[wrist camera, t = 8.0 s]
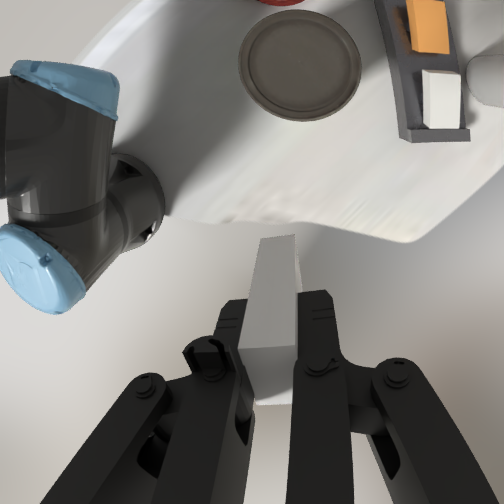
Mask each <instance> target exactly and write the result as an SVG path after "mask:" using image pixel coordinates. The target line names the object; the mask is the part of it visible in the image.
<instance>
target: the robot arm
mask: <svg viewBox="0 0 504 504" xmlns="http://www.w3.org/2000/svg"><path fill="white" fill-rule="evenodd" d="M10 74H11V76H5V77H0V199H5V198H7V205H8V217H9V222H8V224H4V225H3V226H1V227H0V271H1V273H2V275H3V277H4V278H5V280H6V281H7V282H8V284H9V285H10V287H11V288H12V289H13V290H14V291H15V292H16V293H17V294H18V295H19V297H21V298H22V299H23V300H24V301H25V302H26V303H28V304H29V305H31V306H32V307H34V308H35V309H37V310H40V311H42V312H44V313H48V314H54V315H56V314H62V313H64V312H66V311H68V310H69V309H71V308H72V307H73V306H74V305H75V304H76V303H77V302H78V301H79V300H81V299H83V298H84V296H85V295H86V292H87V291H88V290H89V288H90V287H91V286H92V285H93V284H94V283H95V281H96V280H97V279H98V278H99V277H100V276H101V274H102V273H103V272H104V271H105V270H106V269H107V268H108V266H110V264H111V263H112V262H113V261H114V260H115V259H116V258H117V257H118V255H119V254H121V253H124V252H127V251H130V250H132V249H135V248H138V247H140V246H142V245H143V244H145V243H146V242H147V241H148V240H150V238H151V237H152V236H153V235H154V234H155V233H156V232H157V230H158V229H159V227H160V225H161V223H162V220H163V217H164V210H165V201H164V195H163V191H162V188H161V185H160V183H159V181H158V179H157V177H156V176H155V174H154V173H153V172H152V171H151V169H150V168H149V167H148V166H147V165H145V164H144V163H143V162H142V161H140V160H139V159H137V158H135V157H132V156H130V155H126V154H111V152H112V144H113V137H114V131H115V124H116V121H118V116H117V106H118V98H119V91H120V85H119V81H118V79H117V78H116V77H115V76H114V75H113V74H112V73H110V72H107V71H104V70H100V69H95V68H90V67H85V66H79V65H73V64H66V63H58V62H46V61H44V62H42V61H31V60H18V61H16V62H15V63H14V64H13V66H12V68H11V69H10ZM182 353H183V355H184V357H185V359H186V361H187V363H188V365H189V367H190V369H191V371H192V374H191V375H188V376H185V377H182V378H178V379H174V380H170V381H165V380H164V378H163V377H162V376H161V375H159V374H157V373H145V374H141V375H139V376H138V377H136V378H134V379H133V380H132V381H131V382H130V383H129V384H128V386H127V387H126V388H125V390H124V391H123V392H122V394H121V395H120V396H119V397H118V399H117V400H116V402H115V403H114V404H113V405H112V407H111V408H110V409H109V411H108V412H107V413H106V415H105V416H104V417H103V419H102V420H101V421H100V423H99V424H98V425H97V427H96V428H95V429H94V431H93V432H92V433H91V435H90V436H89V437H88V439H87V440H86V441H85V443H84V444H83V445H82V447H81V448H80V449H79V451H78V452H77V453H76V455H75V456H74V457H73V459H72V460H71V462H70V463H69V464H68V466H67V467H66V468H65V470H64V471H63V472H62V474H61V475H60V477H59V478H58V479H57V481H56V482H55V484H54V485H53V486H52V488H51V489H50V490H49V492H48V493H47V494H46V496H45V497H44V499H43V500H42V501H41V503H40V504H243V502H244V495H245V488H246V482H247V475H248V468H249V461H250V454H251V447H252V440H253V433H254V425H255V414H254V411H253V409H252V408H253V402H254V398H255V401H256V403H257V405H274V404H292V415H291V434H290V450H289V465H288V479H287V493H286V503H285V504H354V483H353V461H352V445H351V432H355V433H361V434H366V437H367V439H368V442H369V444H370V446H371V449H372V451H373V454H374V456H375V459H376V461H377V463H378V466H379V468H380V471H381V473H382V476H383V478H384V481H385V483H386V486H387V488H388V491H389V493H390V496H391V498H392V501H393V503H394V504H499V502H498V500H497V498H496V496H495V494H494V492H493V490H492V488H491V487H490V485H489V483H488V481H487V479H486V477H485V475H484V473H483V472H482V470H481V468H480V466H479V464H478V462H477V461H476V459H475V457H474V455H473V453H472V452H471V450H470V448H469V446H468V445H467V443H466V441H465V440H464V438H463V436H462V435H461V433H460V431H459V429H458V428H457V426H456V424H455V423H454V421H453V420H452V418H451V417H450V415H449V413H448V412H447V410H446V409H445V407H444V405H443V403H442V402H441V400H440V399H439V397H438V396H437V394H436V393H435V391H434V389H433V388H432V386H431V385H430V384H429V382H428V380H427V379H426V377H425V376H424V374H423V373H422V371H421V370H420V368H419V367H418V366H417V365H416V364H415V363H414V362H412V361H410V360H408V359H405V358H391V359H386V360H385V361H383V362H381V363H379V364H378V365H377V367H376V368H370V367H362V366H358V365H355V364H353V363H350V362H349V361H348V360H346V359H345V358H344V356H343V355H342V353H341V350H340V345H339V338H338V331H337V324H336V318H335V311H334V304H333V298H332V297H331V296H330V294H329V293H328V292H327V291H326V290H317V291H309V292H302V282H301V275H300V267H299V261H298V254H297V247H296V240H295V234H293V235H285V236H277V237H270V238H262V239H260V244H259V249H258V254H257V258H256V263H255V268H254V273H253V278H252V283H251V288H250V292H249V297H248V299H240V300H229V301H228V302H227V303H226V304H225V306H224V307H223V308H222V309H221V312H220V315H219V318H218V322H217V325H216V329H215V331H214V334H213V336H212V335H209V336H204V337H200V338H198V339H196V340H193V341H192V342H191V343H189V344H188V345H187V346H186V347H185V349H184V350H183V352H182Z"/></svg>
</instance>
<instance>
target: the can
mask: <svg viewBox="0 0 504 504" xmlns="http://www.w3.org/2000/svg"><path fill="white" fill-rule="evenodd" d="M466 78H467V84H468V87H469V89H470V91H471V93H472V94H473V96H474V97H475V98H476V99H477V100H478V101H479V102H480V103H482V104H484V105H488V106H494V107H500V108H504V55H491V56H480V57H475V58H473V59H472V60H471V61H470V62H469V64H468V66H467V70H466Z"/></svg>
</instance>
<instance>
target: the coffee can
mask: <svg viewBox="0 0 504 504" xmlns="http://www.w3.org/2000/svg"><path fill="white" fill-rule="evenodd" d="M238 67H239V73H240V77H241V81H242V83H243V86H244V87H245V89H246V91H247V93H248V94H249V95H250V97H251V98H252V99H253V100H254V101H255V102H256V103H257V104H258V105H259V106H260V107H262V108H263V109H264V110H266V111H267V112H269V113H271V114H273V115H275V116H277V117H280V118H283V119H287V120H291V121H301V122H306V121H315V120H320V119H323V118H326V117H328V116H331V115H333V114H334V113H336V112H338V111H339V110H341V109H342V108H343V107H344V106H345V105H346V104H347V103H348V102H349V101H350V100H351V99H352V97H353V96H354V94H355V92H356V90H357V88H358V86H359V83H360V79H361V69H362V68H361V58H360V55H359V52H358V49H357V47H356V45H355V43H354V41H353V39H352V38H351V36H350V35H349V34H348V33H347V31H346V30H345V29H344V28H343V27H342V26H340V25H339V24H338V23H337V22H335V21H334V20H332V19H331V18H329V17H327V16H324V15H322V14H319V13H316V12H312V11H307V10H285V11H281V12H278V13H275V14H272V15H270V16H268V17H266V18H264V19H262V20H261V21H260V22H258V23H257V24H256V25H255V26H254V27H253V28H252V29H251V30H250V31H249V32H248V34H247V35H246V37H245V39H244V41H243V43H242V45H241V48H240V52H239V58H238Z"/></svg>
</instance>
